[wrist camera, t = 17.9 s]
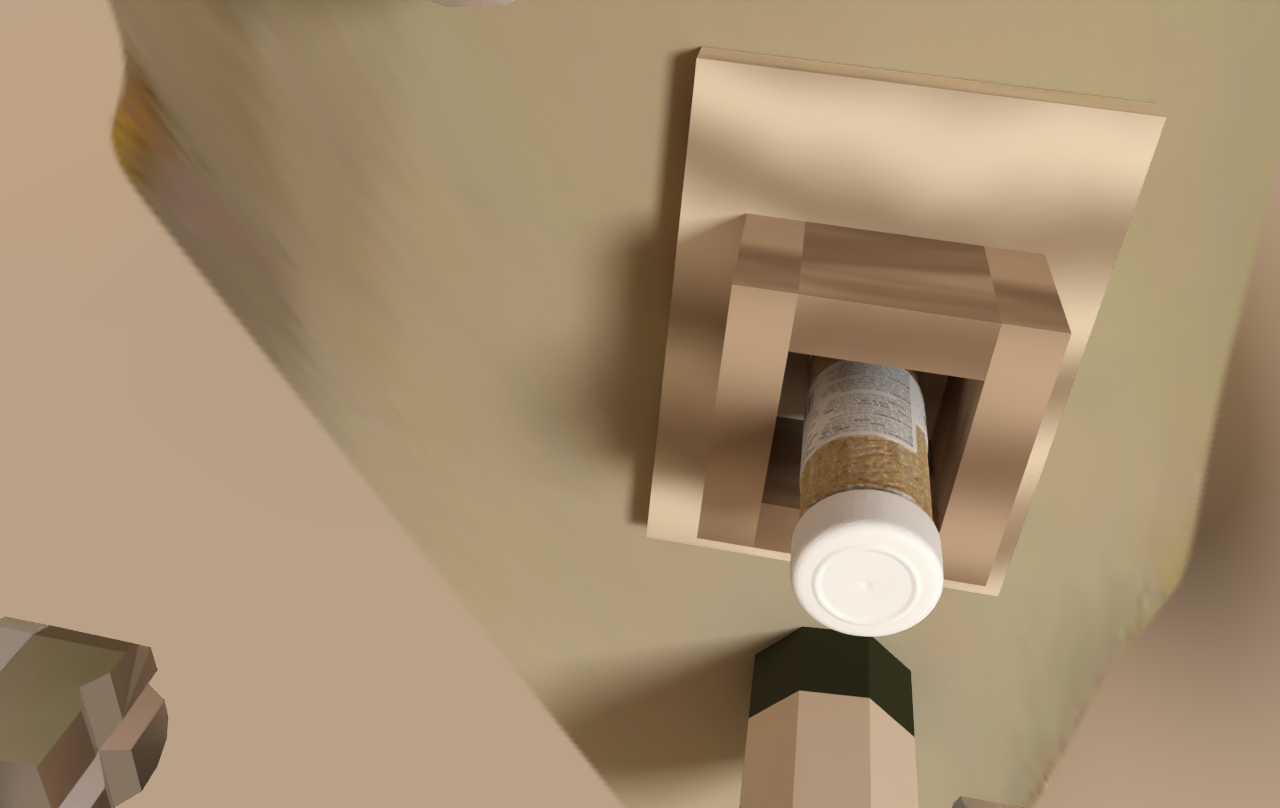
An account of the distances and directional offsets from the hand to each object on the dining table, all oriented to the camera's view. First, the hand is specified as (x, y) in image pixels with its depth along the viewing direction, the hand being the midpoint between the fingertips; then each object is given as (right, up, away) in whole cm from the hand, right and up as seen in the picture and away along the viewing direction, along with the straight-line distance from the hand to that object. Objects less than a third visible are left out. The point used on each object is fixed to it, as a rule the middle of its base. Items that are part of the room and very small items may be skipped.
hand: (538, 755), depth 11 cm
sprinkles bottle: (+10, +5, +33) cm, 35 cm away
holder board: (+10, +6, +34) cm, 36 cm away
